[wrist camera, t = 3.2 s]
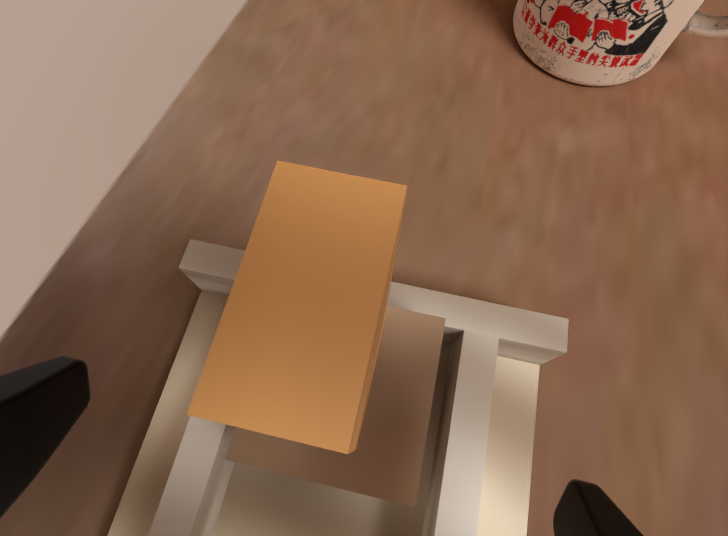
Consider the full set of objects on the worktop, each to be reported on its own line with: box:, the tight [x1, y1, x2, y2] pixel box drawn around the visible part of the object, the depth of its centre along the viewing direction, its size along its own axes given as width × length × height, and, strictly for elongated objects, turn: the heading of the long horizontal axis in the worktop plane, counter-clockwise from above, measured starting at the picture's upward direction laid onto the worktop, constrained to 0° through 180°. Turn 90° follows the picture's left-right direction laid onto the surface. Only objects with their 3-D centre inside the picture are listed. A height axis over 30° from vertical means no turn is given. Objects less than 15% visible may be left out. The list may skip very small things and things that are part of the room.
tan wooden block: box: [186, 161, 446, 508], centre depth 11 cm, size 5×5×13 cm
